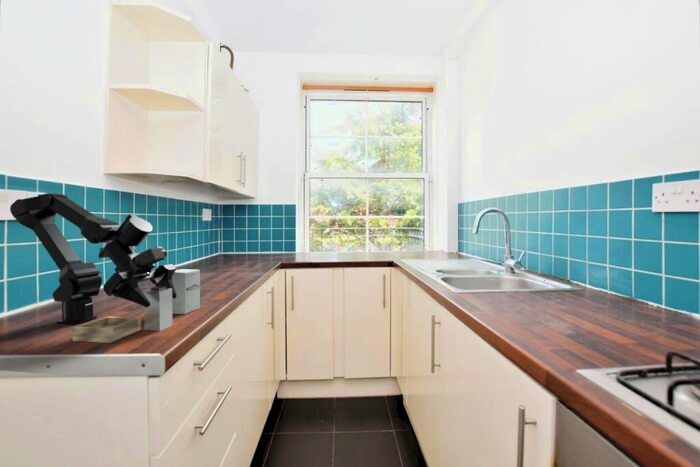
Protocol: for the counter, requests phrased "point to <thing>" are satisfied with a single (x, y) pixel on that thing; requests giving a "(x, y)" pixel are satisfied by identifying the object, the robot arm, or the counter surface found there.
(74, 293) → the robot arm
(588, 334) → the counter surface
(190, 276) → the supplement box
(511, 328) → the counter surface
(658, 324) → the counter surface
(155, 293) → the socket block
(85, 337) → the cream square holder
